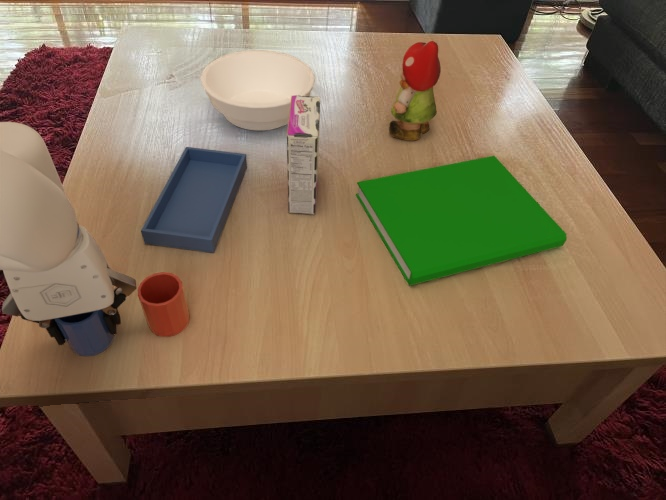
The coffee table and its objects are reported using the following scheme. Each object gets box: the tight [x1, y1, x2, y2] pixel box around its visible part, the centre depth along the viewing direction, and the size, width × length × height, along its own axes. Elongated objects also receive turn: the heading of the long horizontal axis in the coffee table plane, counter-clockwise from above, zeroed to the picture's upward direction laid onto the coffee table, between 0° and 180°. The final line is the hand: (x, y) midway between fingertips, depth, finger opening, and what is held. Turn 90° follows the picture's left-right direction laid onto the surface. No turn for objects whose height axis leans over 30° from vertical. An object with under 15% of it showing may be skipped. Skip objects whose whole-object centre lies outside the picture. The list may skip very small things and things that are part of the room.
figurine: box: [388, 40, 442, 141], centre depth 101 cm, size 11×9×20 cm
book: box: [355, 155, 568, 286], centre depth 90 cm, size 22×28×3 cm
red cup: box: [136, 271, 190, 338], centre depth 71 cm, size 6×6×7 cm
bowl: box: [200, 49, 316, 131], centre depth 107 cm, size 22×22×8 cm
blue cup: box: [54, 309, 115, 357], centre depth 68 cm, size 6×6×7 cm
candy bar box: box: [286, 95, 321, 216], centre depth 87 cm, size 11×5×16 cm, turn 179°
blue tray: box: [140, 146, 248, 254], centre depth 89 cm, size 22×11×3 cm, turn 173°
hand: (88, 330), depth 69 cm, fingers closed on blue cup, 5 cm apart
